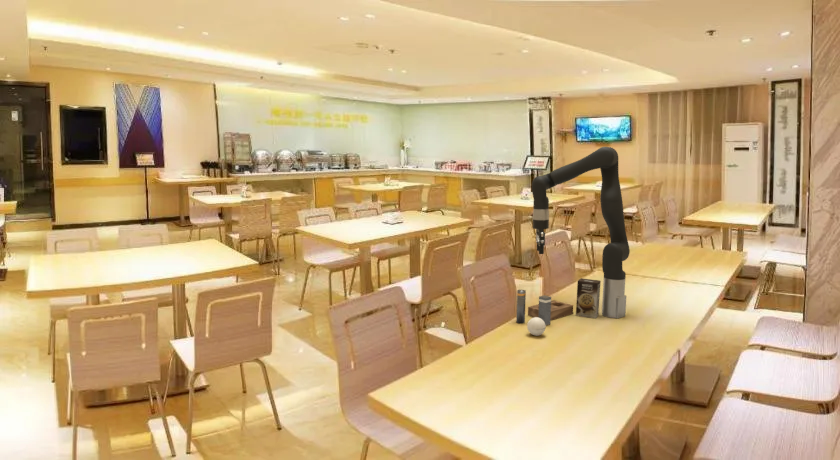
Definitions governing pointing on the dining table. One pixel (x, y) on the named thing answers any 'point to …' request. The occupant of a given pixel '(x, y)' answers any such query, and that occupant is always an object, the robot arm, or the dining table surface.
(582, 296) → the coffee box
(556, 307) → the block
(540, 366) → the dining table surface
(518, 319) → the cylinder
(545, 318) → the square bit
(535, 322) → the seamed sphere
